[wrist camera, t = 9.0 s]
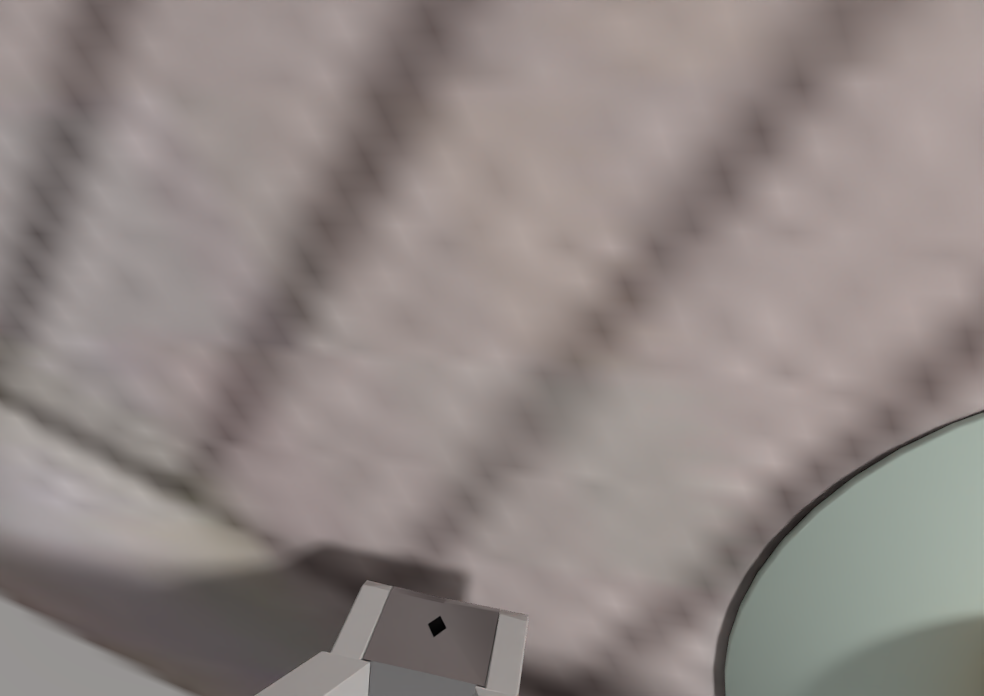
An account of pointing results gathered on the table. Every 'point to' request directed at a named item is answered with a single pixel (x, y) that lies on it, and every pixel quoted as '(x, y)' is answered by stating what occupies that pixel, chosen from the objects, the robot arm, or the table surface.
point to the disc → (876, 584)
